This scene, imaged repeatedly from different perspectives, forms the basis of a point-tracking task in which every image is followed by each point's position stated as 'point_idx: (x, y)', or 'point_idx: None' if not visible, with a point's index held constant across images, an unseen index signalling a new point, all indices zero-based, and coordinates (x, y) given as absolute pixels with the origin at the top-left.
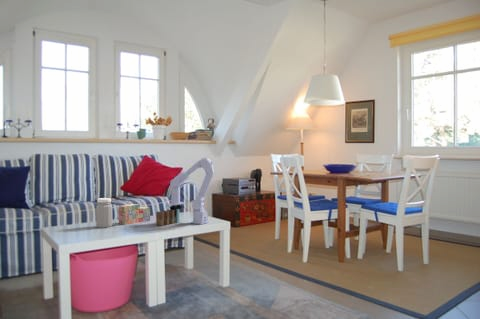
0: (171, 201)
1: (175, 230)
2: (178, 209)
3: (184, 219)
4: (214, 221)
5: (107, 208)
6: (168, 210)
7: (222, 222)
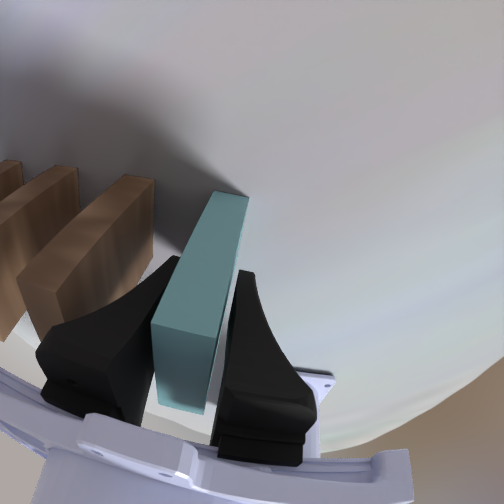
0: (38, 486)
1: (25, 338)
2: (181, 407)
3: (426, 249)
4: (351, 426)
5: None
6: (30, 303)
7: (327, 446)
